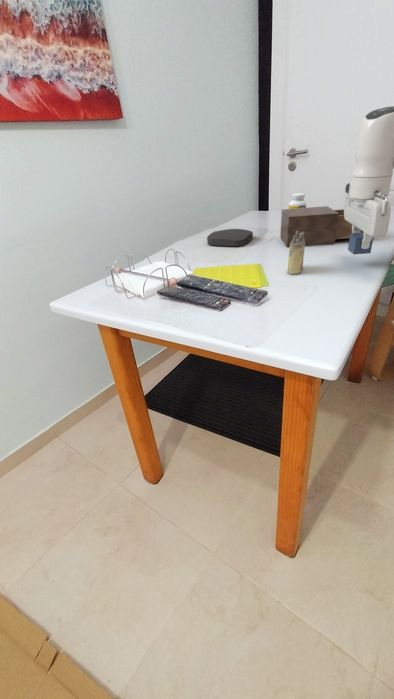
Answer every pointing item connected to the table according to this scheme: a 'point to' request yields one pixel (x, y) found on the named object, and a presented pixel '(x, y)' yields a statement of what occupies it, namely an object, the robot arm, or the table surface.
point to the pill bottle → (297, 201)
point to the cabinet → (310, 225)
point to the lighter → (296, 253)
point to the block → (358, 244)
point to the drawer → (343, 226)
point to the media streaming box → (230, 237)
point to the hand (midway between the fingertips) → (360, 245)
